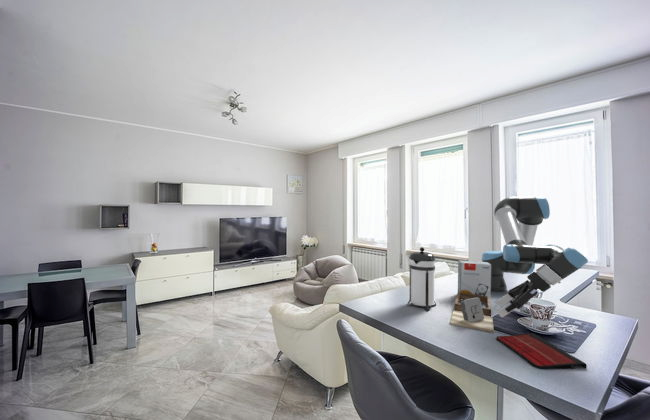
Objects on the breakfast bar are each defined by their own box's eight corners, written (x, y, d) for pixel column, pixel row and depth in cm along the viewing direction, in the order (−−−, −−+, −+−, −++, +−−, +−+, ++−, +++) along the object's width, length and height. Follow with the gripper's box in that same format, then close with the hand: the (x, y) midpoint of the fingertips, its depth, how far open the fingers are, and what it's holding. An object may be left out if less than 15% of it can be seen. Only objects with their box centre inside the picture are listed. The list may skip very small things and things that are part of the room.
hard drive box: (459, 298, 153) (459, 262, 153) (457, 294, 160) (457, 260, 160) (491, 300, 148) (491, 264, 148) (487, 296, 156) (487, 261, 156)
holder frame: (457, 298, 152) (457, 292, 152) (489, 303, 144) (489, 296, 144) (454, 310, 133) (454, 303, 133) (491, 317, 126) (491, 309, 126)
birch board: (453, 312, 131) (453, 310, 131) (492, 318, 123) (492, 316, 123) (450, 324, 118) (450, 321, 118) (493, 332, 110) (493, 330, 110)
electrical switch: (470, 323, 116) (468, 300, 117) (459, 320, 121) (458, 298, 122) (484, 319, 120) (483, 298, 121) (474, 316, 125) (472, 295, 126)
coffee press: (444, 311, 133) (444, 249, 133) (411, 310, 133) (411, 249, 133) (431, 299, 150) (431, 245, 150) (402, 299, 150) (402, 244, 150)
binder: (533, 332, 106) (587, 362, 85) (533, 338, 106) (587, 370, 85) (492, 334, 105) (537, 366, 84) (493, 340, 105) (537, 373, 84)
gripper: (559, 294, 96) (508, 327, 103) (545, 279, 118) (503, 307, 125) (540, 277, 99) (491, 311, 106) (530, 265, 120) (490, 294, 128)
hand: (498, 309), depth 116 cm, fingers open, 13 cm apart
